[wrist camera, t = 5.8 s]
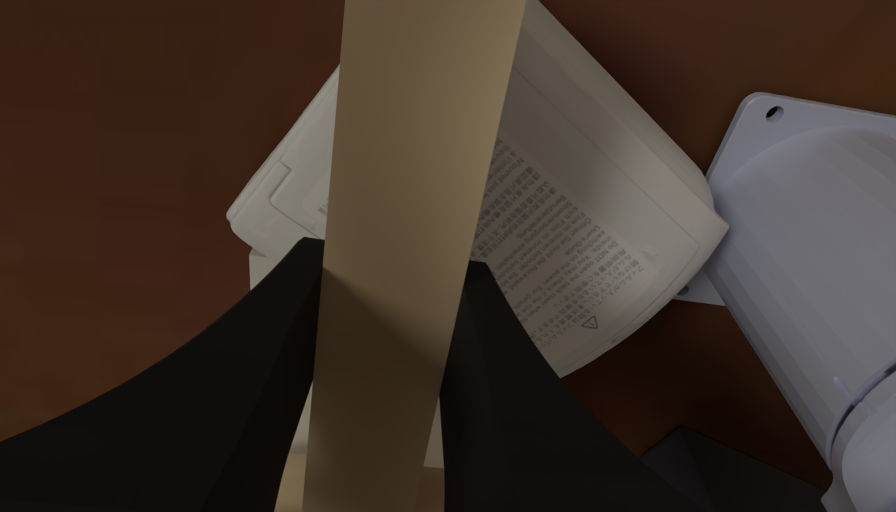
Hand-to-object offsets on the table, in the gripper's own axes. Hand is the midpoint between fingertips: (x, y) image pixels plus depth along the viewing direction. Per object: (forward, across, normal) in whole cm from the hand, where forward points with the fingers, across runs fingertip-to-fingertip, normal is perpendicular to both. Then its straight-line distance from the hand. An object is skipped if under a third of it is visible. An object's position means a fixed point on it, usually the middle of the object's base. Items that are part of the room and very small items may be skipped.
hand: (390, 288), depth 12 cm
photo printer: (+6, +3, -2) cm, 7 cm away
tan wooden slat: (+2, 0, +1) cm, 3 cm away
